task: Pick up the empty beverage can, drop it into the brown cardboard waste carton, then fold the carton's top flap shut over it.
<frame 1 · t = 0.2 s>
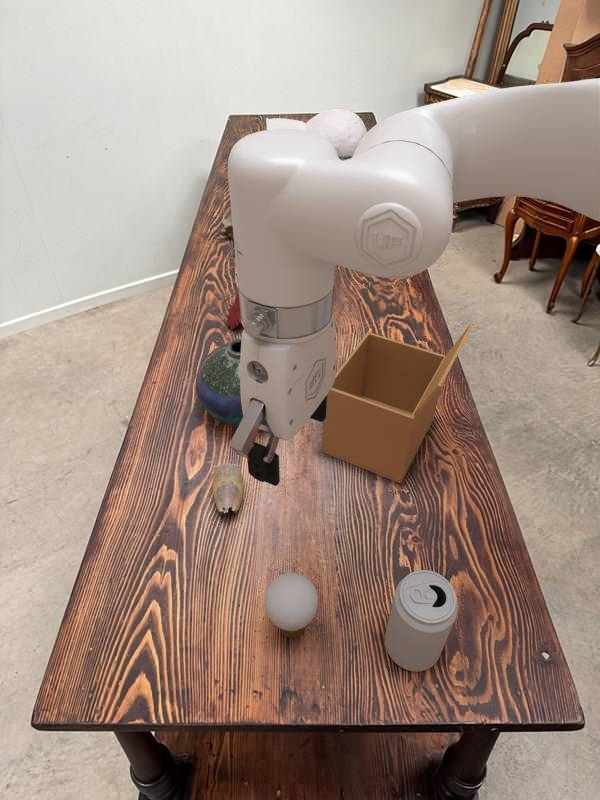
hand: (289, 445, 55), 22 cm above the table, tool pointing down, fingers open, 9 cm apart
vase: (246, 410, 91), on the table
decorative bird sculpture: (257, 321, 110), on the table
greenish rock: (242, 235, 138), on the table
shell: (229, 501, 77), on the table
beverage can: (411, 646, 62), on the table
flap: (444, 367, 72), point 17 cm above the table, hinge at 110.0°
carton: (379, 435, 86), on the table
light bulb: (292, 630, 64), on the table
potted plant: (348, 228, 141), on the table
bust: (317, 188, 161), on the table
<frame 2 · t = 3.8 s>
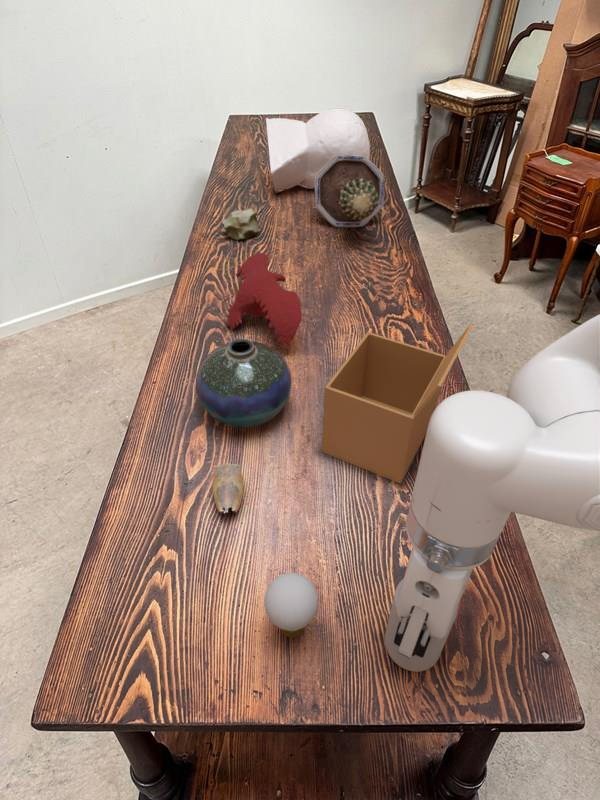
hand: (420, 617, 57), 7 cm above the table, tool pointing down, fingers closed on beverage can, 6 cm apart
beverage can: (411, 646, 62), on the table, touching gripper
everything else where it was.
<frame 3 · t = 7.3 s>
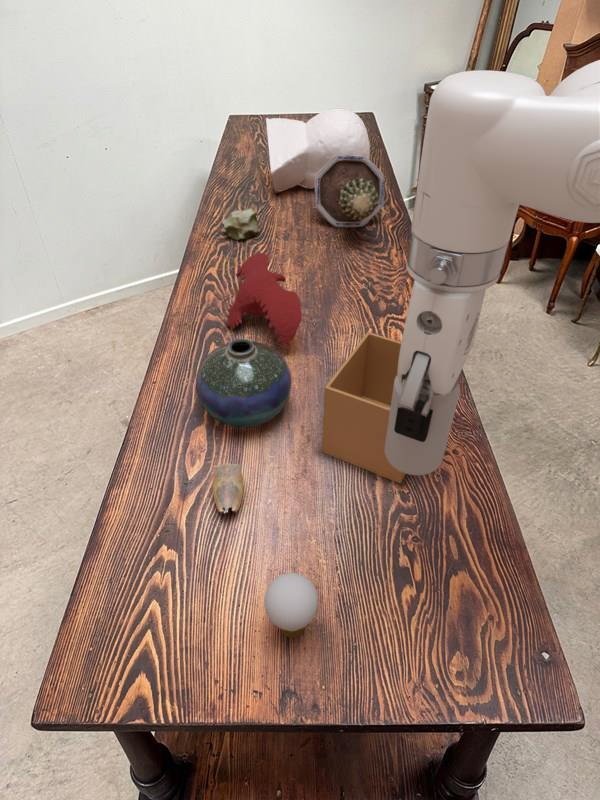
hand: (421, 411, 55), 25 cm above the table, tool pointing down, fingers closed on beverage can, 6 cm apart
beverage can: (411, 458, 60), point 17 cm above the table, touching gripper
everything else where it was.
when the fingers open (20 cm above the table, at t = 10.9 s): beverage can drops 12 cm, resting on carton.
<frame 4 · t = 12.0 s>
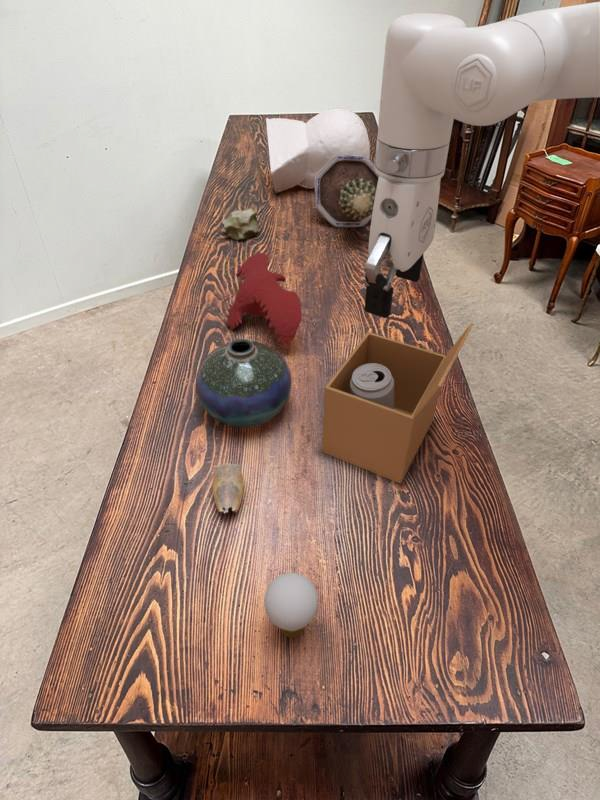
hand: (392, 295, 69), 26 cm above the table, tool pointing down, fingers open, 9 cm apart
beverage can: (374, 430, 86), point 1 cm above the table, touching carton
everything else where it was.
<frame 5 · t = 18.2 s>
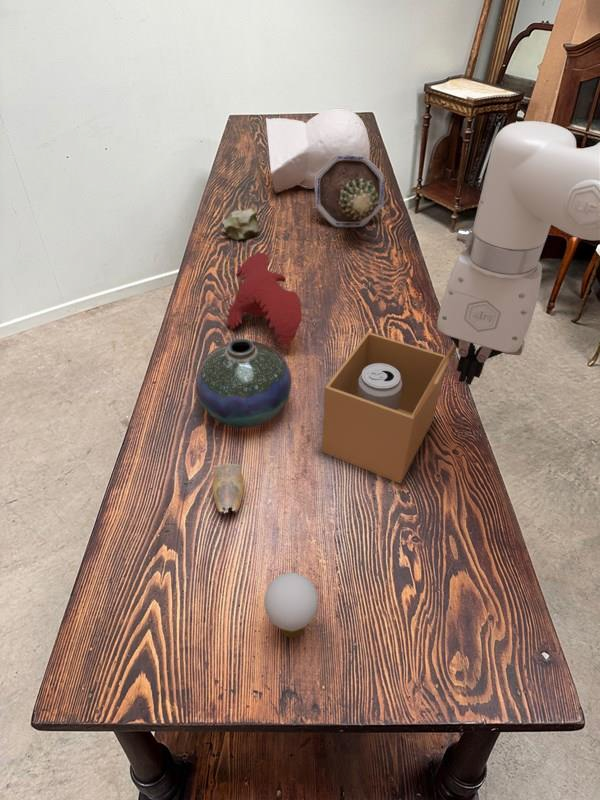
hand: (467, 376, 71), 17 cm above the table, tool pointing down, fingers closed
flap: (442, 366, 72), point 17 cm above the table, hinge at 105.1°
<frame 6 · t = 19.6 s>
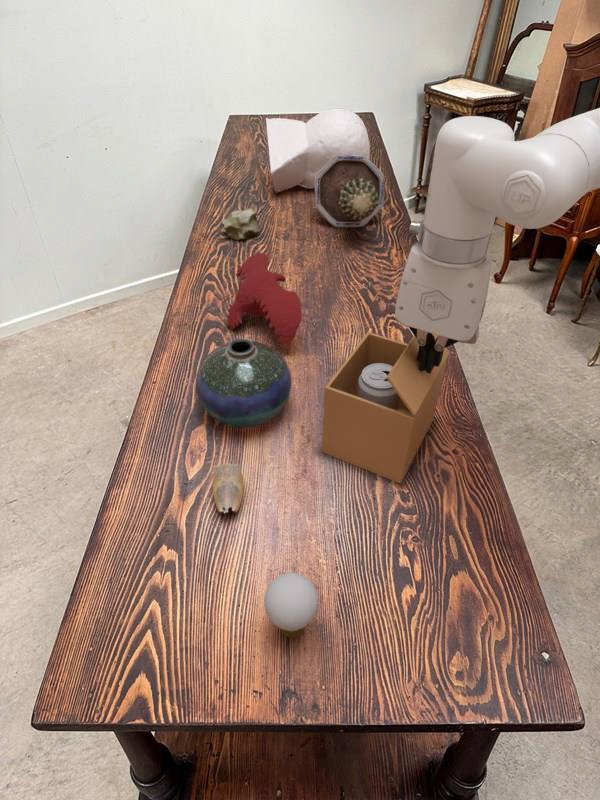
hand: (427, 366, 73), 17 cm above the table, tool pointing down, fingers closed
flap: (420, 364, 74), point 16 cm above the table, hinge at 47.1°, touching gripper
everything else where it was.
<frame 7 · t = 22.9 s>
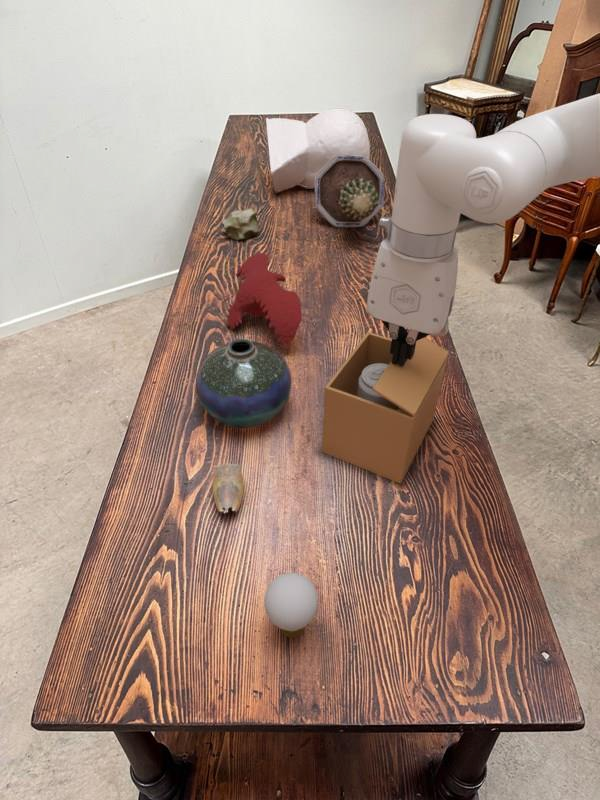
hand: (400, 359, 75), 16 cm above the table, tool pointing down, fingers closed
flap: (412, 369, 75), point 15 cm above the table, hinge at 18.1°, touching gripper
everything else where it was.
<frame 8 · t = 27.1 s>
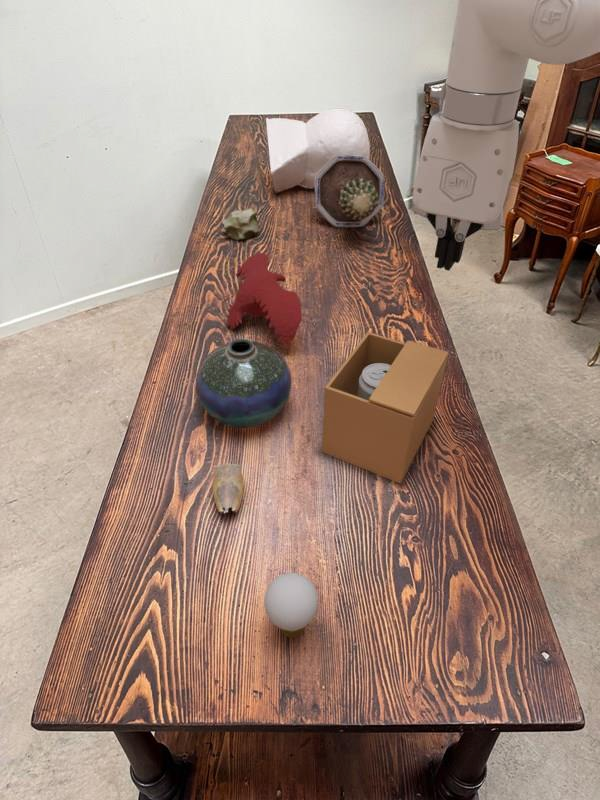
hand: (446, 264, 68), 29 cm above the table, tool pointing down, fingers closed
flap: (410, 375, 76), point 14 cm above the table, hinge at -0.8°
everything else where it was.
at the end: beverage can inside the target area in the carton (0.9 cm from its centre), point 0.3 cm above the carton's base; flap at -1° (first picture: +110°) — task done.
